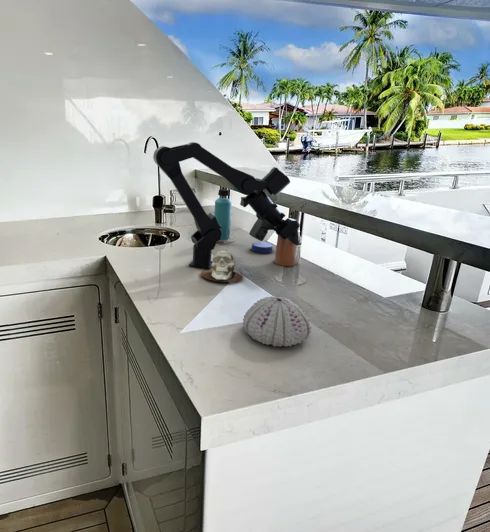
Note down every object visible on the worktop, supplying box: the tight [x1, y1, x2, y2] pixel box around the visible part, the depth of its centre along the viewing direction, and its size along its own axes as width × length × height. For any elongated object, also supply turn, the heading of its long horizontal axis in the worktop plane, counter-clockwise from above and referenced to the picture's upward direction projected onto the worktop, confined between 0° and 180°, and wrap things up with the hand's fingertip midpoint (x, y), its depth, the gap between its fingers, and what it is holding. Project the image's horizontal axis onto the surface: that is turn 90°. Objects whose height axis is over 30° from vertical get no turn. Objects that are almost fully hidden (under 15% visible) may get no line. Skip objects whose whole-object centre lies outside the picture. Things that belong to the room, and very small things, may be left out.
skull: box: [200, 249, 244, 283], centre depth 109 cm, size 12×10×10 cm
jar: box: [274, 227, 301, 267], centre depth 121 cm, size 6×6×13 cm
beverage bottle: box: [213, 188, 233, 241], centre depth 142 cm, size 6×7×20 cm
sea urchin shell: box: [242, 296, 312, 348], centre depth 77 cm, size 13×14×8 cm
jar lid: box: [251, 241, 274, 255], centre depth 135 cm, size 7×7×2 cm
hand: (292, 241), depth 121 cm, fingers open, 7 cm apart
